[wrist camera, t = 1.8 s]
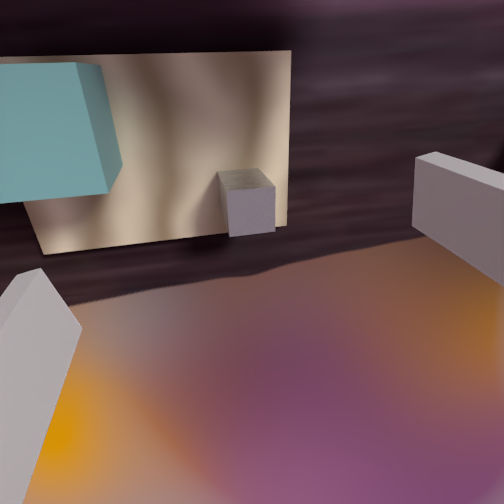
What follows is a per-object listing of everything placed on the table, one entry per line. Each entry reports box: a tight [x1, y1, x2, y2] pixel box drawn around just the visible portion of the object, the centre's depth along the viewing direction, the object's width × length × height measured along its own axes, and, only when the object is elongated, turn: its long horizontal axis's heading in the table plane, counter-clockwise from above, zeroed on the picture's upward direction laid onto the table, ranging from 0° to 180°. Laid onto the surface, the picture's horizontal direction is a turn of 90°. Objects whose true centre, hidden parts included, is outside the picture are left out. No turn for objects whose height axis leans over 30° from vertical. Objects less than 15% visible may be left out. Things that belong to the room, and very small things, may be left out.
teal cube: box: [0, 62, 123, 203], centre depth 23 cm, size 8×8×8 cm
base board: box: [0, 51, 291, 255], centre depth 29 cm, size 24×16×2 cm, turn 92°
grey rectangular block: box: [217, 168, 276, 237], centre depth 29 cm, size 4×4×6 cm
